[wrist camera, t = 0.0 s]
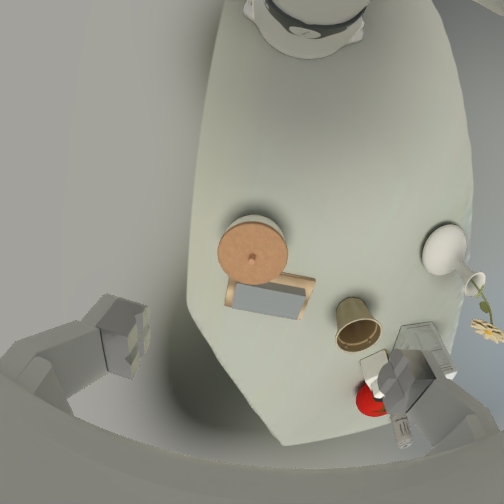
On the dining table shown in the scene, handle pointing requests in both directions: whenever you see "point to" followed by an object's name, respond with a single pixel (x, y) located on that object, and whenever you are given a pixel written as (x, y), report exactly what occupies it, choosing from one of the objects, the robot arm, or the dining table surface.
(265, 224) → the lidded jar
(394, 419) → the energy drink can
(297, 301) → the slate tile
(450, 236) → the flower in vase
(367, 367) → the medicine bottle
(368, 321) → the flower pot
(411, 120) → the dining table surface
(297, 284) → the wooden board
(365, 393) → the tomato
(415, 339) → the supplement box
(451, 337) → the dining table surface
